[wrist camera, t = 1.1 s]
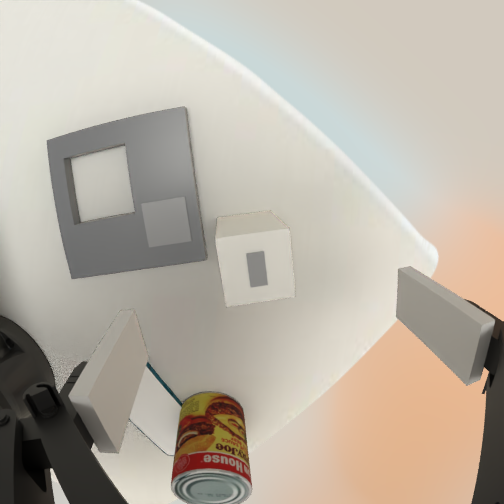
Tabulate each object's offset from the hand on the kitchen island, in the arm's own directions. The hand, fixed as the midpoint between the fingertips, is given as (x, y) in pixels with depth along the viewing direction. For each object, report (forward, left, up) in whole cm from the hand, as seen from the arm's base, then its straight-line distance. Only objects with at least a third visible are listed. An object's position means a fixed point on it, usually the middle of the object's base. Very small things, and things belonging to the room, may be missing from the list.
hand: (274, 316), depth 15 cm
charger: (0, 0, -16) cm, 17 cm away
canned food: (-7, -21, -17) cm, 28 cm away
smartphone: (-14, -20, -17) cm, 30 cm away
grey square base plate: (-11, +6, -16) cm, 21 cm away
